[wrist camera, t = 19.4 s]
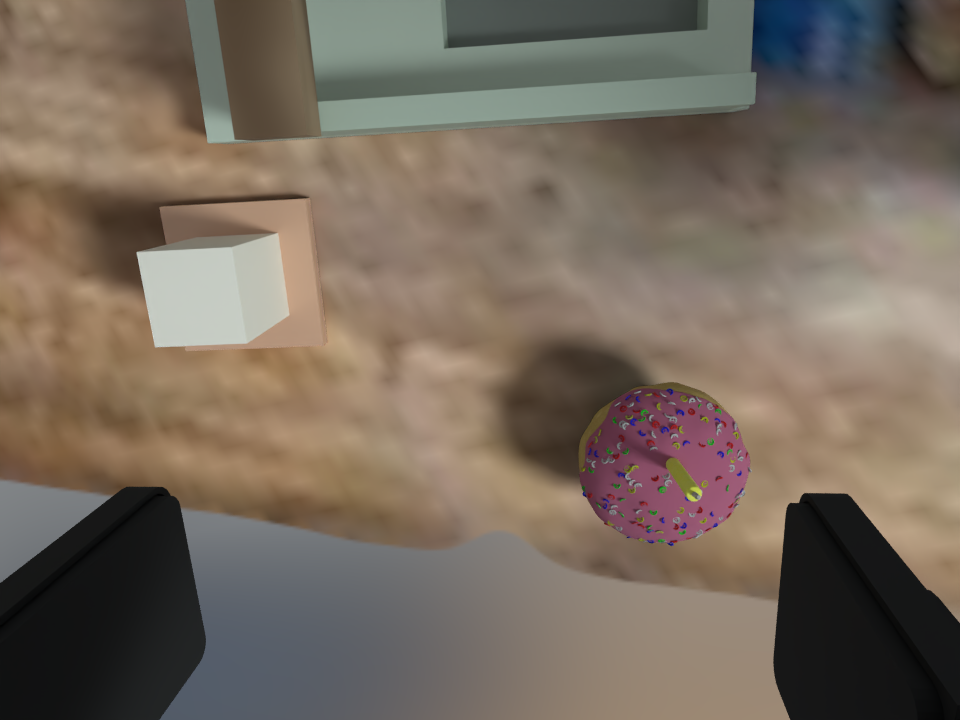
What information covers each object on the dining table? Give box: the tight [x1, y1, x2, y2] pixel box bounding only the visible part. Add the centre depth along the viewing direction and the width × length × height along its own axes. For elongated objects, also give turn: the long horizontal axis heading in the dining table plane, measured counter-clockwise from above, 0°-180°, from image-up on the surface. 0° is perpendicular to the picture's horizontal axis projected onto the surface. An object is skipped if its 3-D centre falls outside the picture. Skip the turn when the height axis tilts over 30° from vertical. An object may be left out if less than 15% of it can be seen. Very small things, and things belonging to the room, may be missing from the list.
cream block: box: [137, 233, 289, 347], centre depth 35 cm, size 4×4×6 cm
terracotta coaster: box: [159, 198, 328, 351], centre depth 38 cm, size 8×8×1 cm
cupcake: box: [578, 382, 752, 546], centre depth 34 cm, size 9×8×12 cm
